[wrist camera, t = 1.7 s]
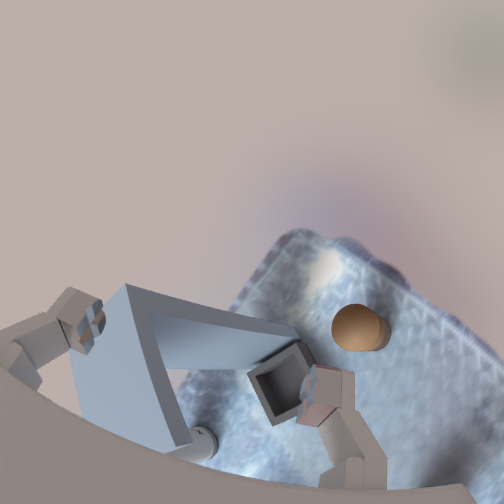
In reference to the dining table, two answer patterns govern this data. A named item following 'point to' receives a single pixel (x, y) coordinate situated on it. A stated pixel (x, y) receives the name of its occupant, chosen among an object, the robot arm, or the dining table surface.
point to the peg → (360, 329)
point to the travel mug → (197, 446)
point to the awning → (163, 361)
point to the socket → (282, 382)
